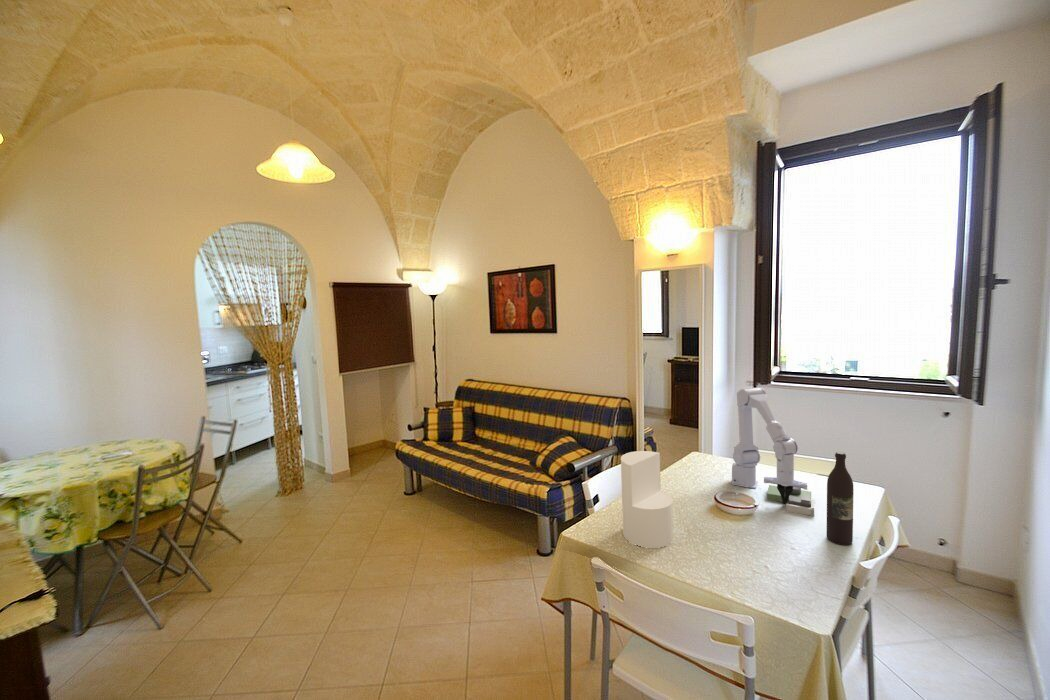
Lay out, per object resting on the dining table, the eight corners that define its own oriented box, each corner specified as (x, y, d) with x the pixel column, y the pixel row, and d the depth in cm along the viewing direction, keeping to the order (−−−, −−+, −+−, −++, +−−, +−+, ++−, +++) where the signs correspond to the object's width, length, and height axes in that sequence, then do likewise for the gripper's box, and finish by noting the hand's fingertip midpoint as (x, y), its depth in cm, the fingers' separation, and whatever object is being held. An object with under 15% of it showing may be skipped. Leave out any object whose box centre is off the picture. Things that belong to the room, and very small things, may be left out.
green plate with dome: (765, 507, 169) (765, 496, 168) (769, 490, 183) (769, 480, 183) (814, 516, 160) (814, 504, 159) (814, 498, 174) (814, 487, 174)
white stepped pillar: (613, 535, 154) (610, 459, 151) (641, 518, 165) (639, 447, 162) (655, 554, 140) (653, 472, 138) (683, 535, 151) (681, 458, 149)
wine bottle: (828, 543, 142) (829, 455, 139) (824, 533, 148) (825, 448, 145) (854, 547, 139) (856, 457, 136) (850, 537, 145) (851, 450, 142)
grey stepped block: (788, 509, 166) (788, 497, 166) (789, 503, 170) (789, 492, 170) (810, 512, 162) (810, 501, 162) (810, 507, 167) (810, 495, 166)
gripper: (763, 470, 168) (763, 503, 170) (807, 476, 160) (806, 511, 162) (764, 464, 174) (764, 496, 175) (807, 470, 166) (807, 504, 167)
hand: (785, 503), depth 169 cm, fingers closed
